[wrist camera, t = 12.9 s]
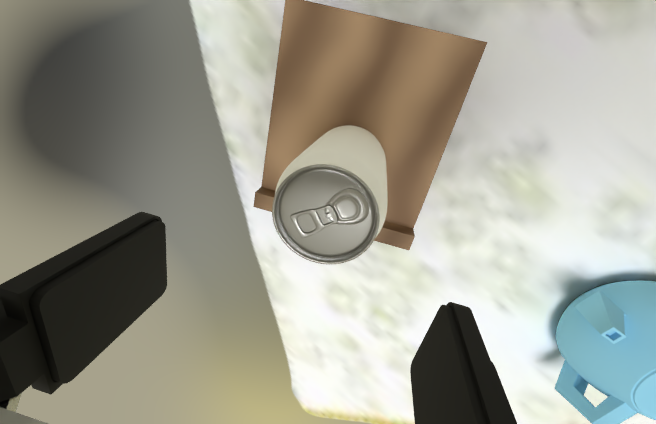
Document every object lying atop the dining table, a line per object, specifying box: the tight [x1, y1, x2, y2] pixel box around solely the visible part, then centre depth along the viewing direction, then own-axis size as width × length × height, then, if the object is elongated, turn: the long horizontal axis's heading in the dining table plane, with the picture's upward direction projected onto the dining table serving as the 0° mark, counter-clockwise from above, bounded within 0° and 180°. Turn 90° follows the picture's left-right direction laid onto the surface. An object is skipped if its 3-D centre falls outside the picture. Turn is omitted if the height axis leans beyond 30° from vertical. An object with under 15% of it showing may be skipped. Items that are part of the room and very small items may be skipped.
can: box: [272, 125, 388, 264], centre depth 20 cm, size 6×6×12 cm
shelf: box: [254, 0, 487, 250], centre depth 27 cm, size 15×17×8 cm
